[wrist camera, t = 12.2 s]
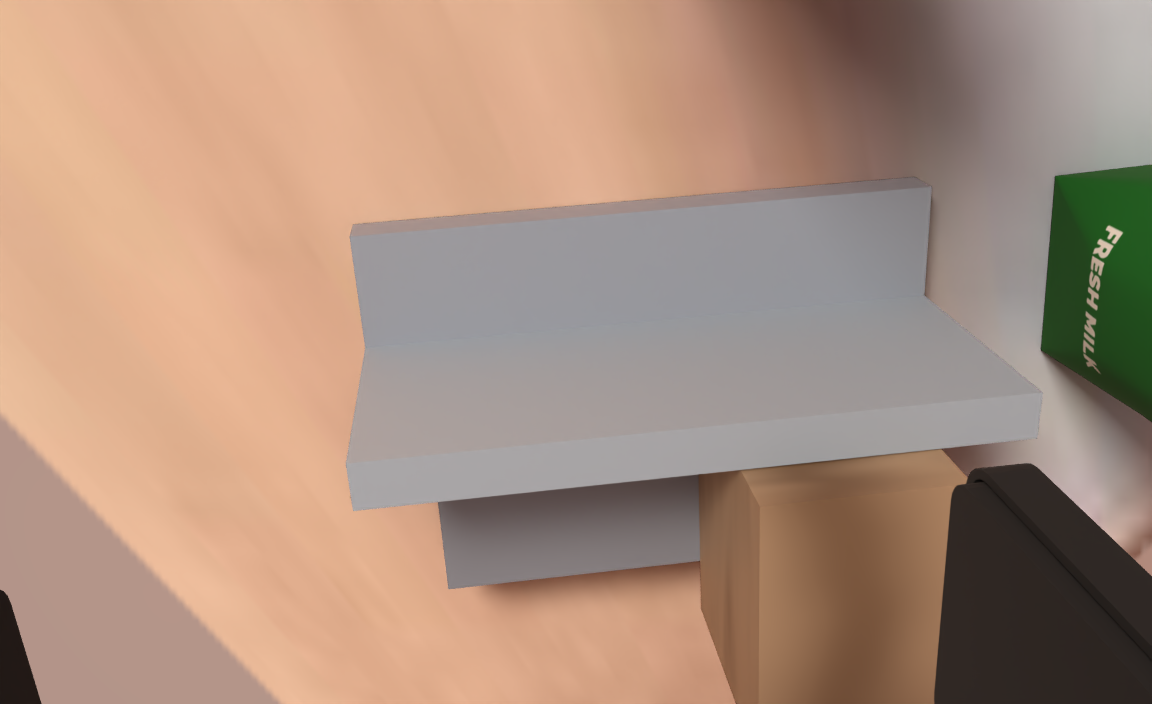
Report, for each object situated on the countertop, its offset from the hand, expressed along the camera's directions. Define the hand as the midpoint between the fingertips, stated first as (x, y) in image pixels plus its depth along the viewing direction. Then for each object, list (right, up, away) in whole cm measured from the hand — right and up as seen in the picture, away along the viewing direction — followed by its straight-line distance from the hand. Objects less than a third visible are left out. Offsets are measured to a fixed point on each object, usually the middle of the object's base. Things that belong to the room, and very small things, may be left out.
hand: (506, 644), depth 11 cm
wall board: (+3, +2, +30) cm, 30 cm away
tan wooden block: (+8, -2, +28) cm, 29 cm away
